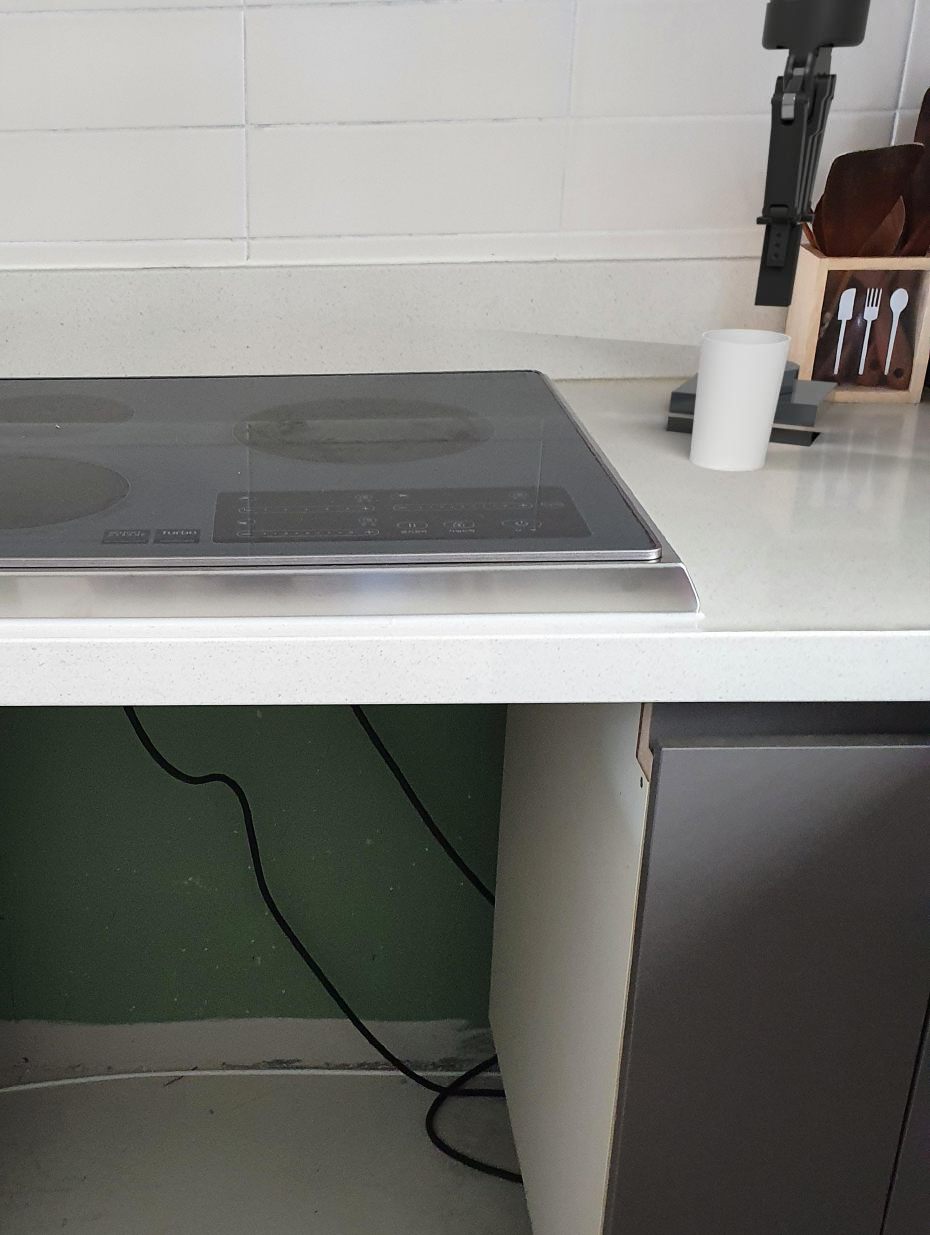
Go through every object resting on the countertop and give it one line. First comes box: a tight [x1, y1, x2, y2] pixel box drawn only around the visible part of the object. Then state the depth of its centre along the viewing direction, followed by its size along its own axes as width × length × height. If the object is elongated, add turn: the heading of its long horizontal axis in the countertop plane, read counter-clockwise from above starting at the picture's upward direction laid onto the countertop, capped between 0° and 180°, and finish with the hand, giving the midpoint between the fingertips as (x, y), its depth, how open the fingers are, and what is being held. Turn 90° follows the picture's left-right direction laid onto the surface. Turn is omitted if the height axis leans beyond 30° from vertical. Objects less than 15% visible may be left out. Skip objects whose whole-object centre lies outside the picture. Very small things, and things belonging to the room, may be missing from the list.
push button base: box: [665, 360, 839, 447], centre depth 119 cm, size 12×10×6 cm
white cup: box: [689, 328, 792, 472], centre depth 108 cm, size 7×7×10 cm
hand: (772, 304), depth 115 cm, fingers closed
